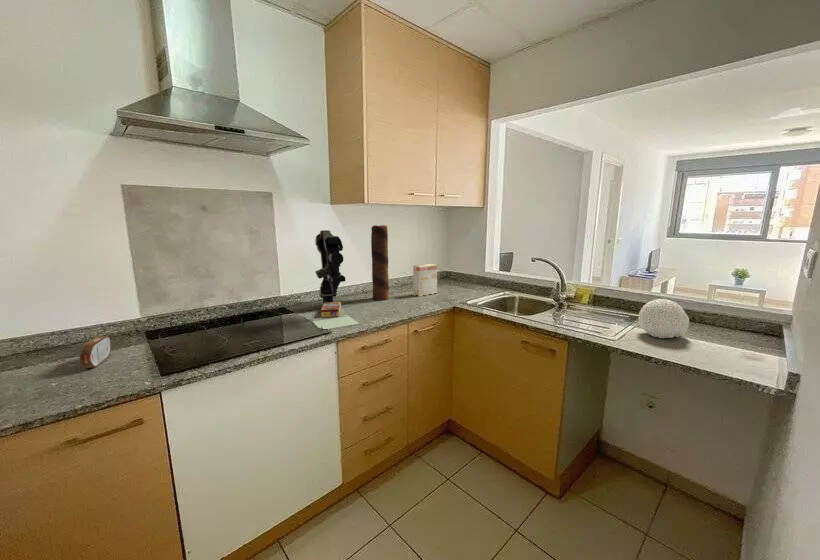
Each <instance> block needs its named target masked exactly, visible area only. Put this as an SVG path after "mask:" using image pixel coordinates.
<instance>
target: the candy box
mask: <svg viewBox="0 0 820 560" xmlns="http://www.w3.org/2000/svg"><path fill="white" fill-rule="evenodd" d="M341 302H342V301H333V302H324V305H323V304H322V305H323V307H321V309H320V314H321V315H320V316H321V318H332V317H334V318H337V317H340V313H341V309H342V303H341Z"/></svg>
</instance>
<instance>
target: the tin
mask: <svg viewBox="0 0 820 560" xmlns="http://www.w3.org/2000/svg"><path fill="white" fill-rule="evenodd" d="M111 345H112V342H111V338H110V336H108V335H96V336H95V337H94V338H93V337H92V339H90V340H89V341H87V342H85V343H84V344H83V345H82V347H81V350H80V353H79V362H80V365H81V367H82V368H83V369H91V368H97V367H99V365H101V364H102V363H103V362H104V361H106V360H107V359H108V358H109V357H110V355H111V352H112V346H111Z"/></svg>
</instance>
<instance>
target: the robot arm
mask: <svg viewBox="0 0 820 560" xmlns="http://www.w3.org/2000/svg"><path fill="white" fill-rule="evenodd" d="M314 240H315V241H314V242H315V246H316V250H317V252H319V254H320V262H321V268H320V269H318V270H316V271H315V275H316V277H317V278H318V279H322V281H321V282H320V287H319V291H318V294H319V297H320V298H322V305H320V307H321V308H322V307H323V305H324V302H334V297H337V295H338V294H337V293H338V289H339V286H340V283H342V282H344V283H345V282H346V276H345V275H343V274H341V273H342V272H340V267H341V264H342V263H343V262H344V255H343V254H342V253H341V252H342V251H343V249H344V246H343V242H342V240H341V238H340V237H339V236H338V235H333V234H332V233H331V230H328V229H327V230H320V231H319V233H318V234H317V235H315V239H314Z"/></svg>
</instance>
